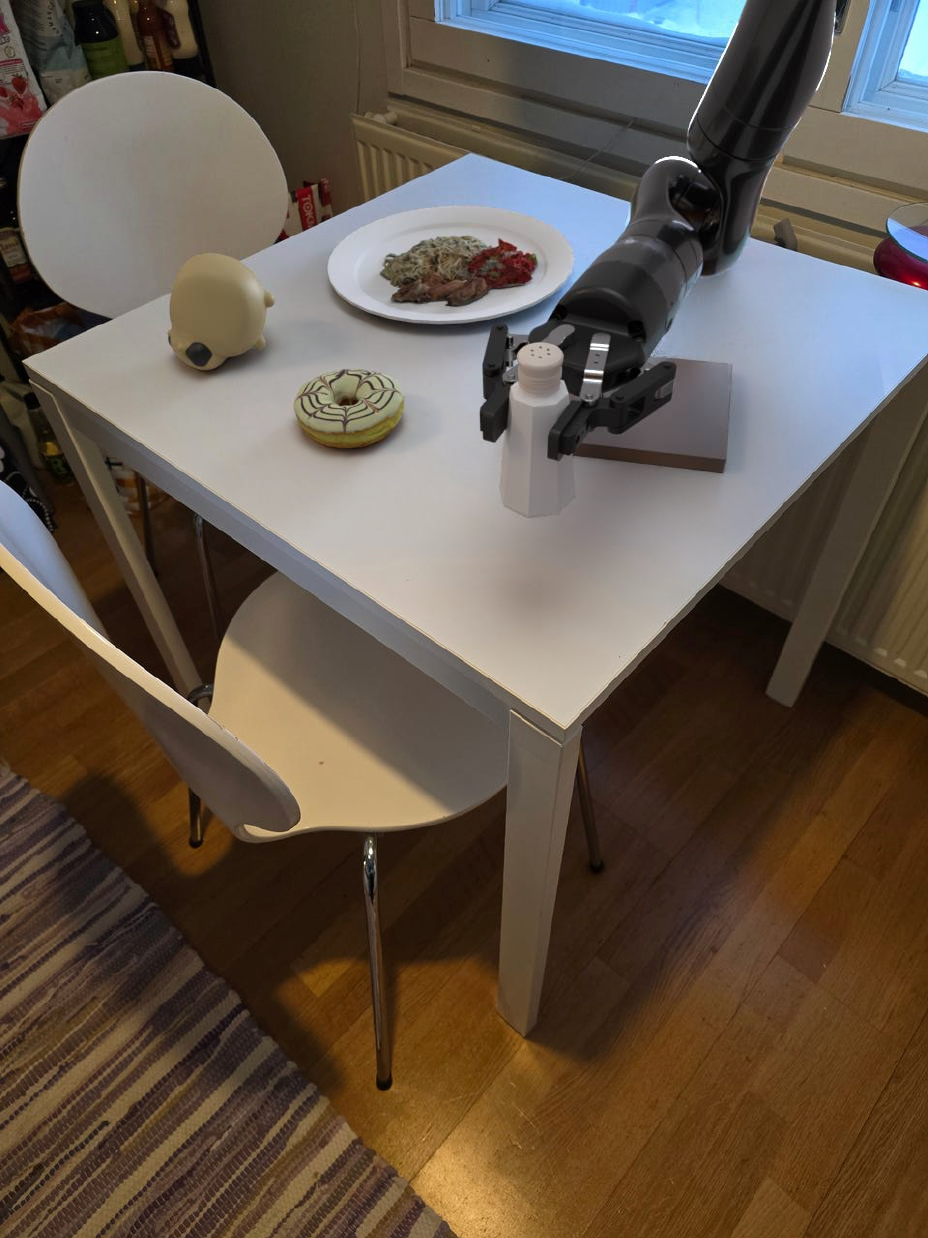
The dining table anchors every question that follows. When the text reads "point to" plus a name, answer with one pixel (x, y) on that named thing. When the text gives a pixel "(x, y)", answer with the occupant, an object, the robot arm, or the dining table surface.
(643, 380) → the robot arm
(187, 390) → the dining table surface
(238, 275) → the toy pig
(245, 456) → the dining table surface
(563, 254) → the plated food
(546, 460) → the salt shaker
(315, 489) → the dining table surface
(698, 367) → the walnut board
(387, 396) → the decorated donut
